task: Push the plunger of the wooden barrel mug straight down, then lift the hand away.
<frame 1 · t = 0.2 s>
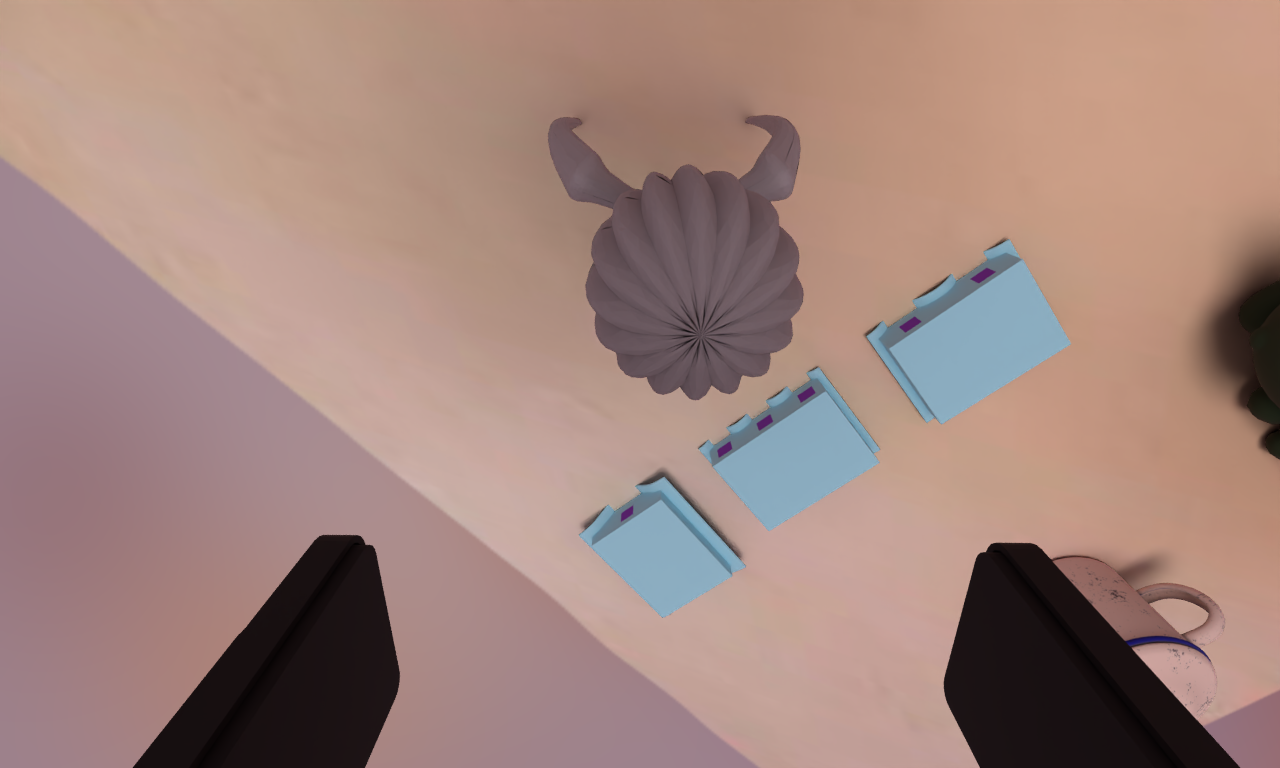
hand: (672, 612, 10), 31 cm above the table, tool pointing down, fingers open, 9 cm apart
teacup with lid: (1077, 588, 49), on the table
juicer: (663, 198, 38), on the table
light blue block row: (807, 439, 45), on the table
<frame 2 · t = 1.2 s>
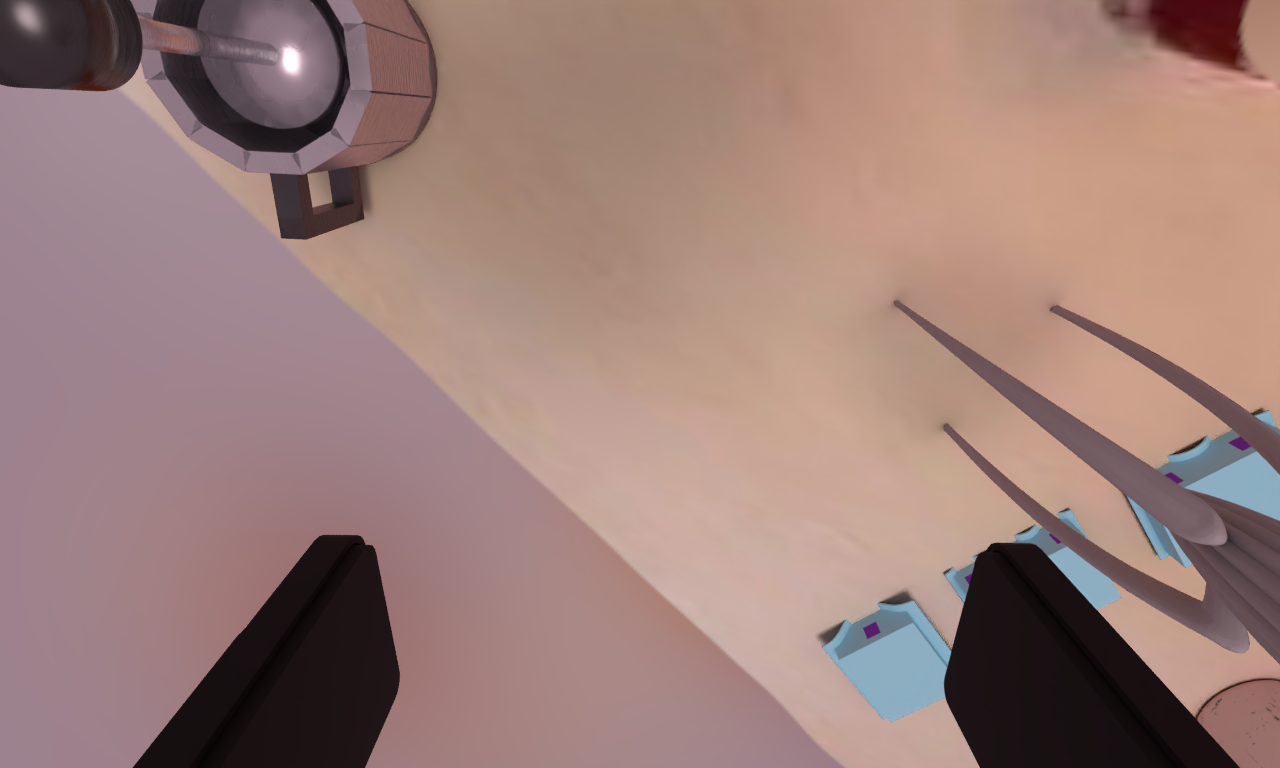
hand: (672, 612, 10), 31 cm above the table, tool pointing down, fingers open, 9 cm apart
plunger: (174, 39, 22), point 14 cm above the table, slide at 0.0 cm
teacup with lid: (1262, 705, 53), on the table
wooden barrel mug: (348, 67, 34), on the table
juicer: (959, 368, 41), on the table
light blue block row: (1040, 566, 48), on the table
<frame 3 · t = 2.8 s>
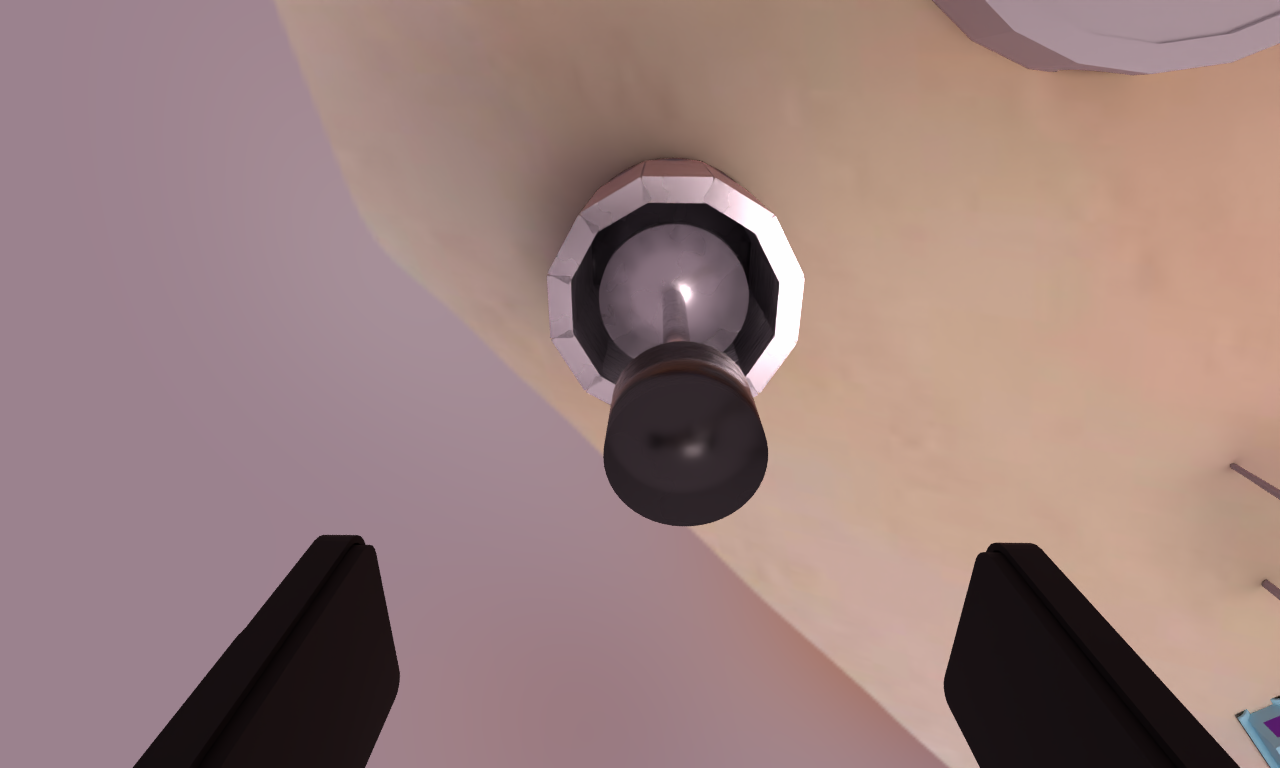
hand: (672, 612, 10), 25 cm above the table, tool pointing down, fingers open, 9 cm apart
plunger: (677, 352, 20), point 14 cm above the table, slide at 0.0 cm
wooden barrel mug: (670, 258, 32), on the table
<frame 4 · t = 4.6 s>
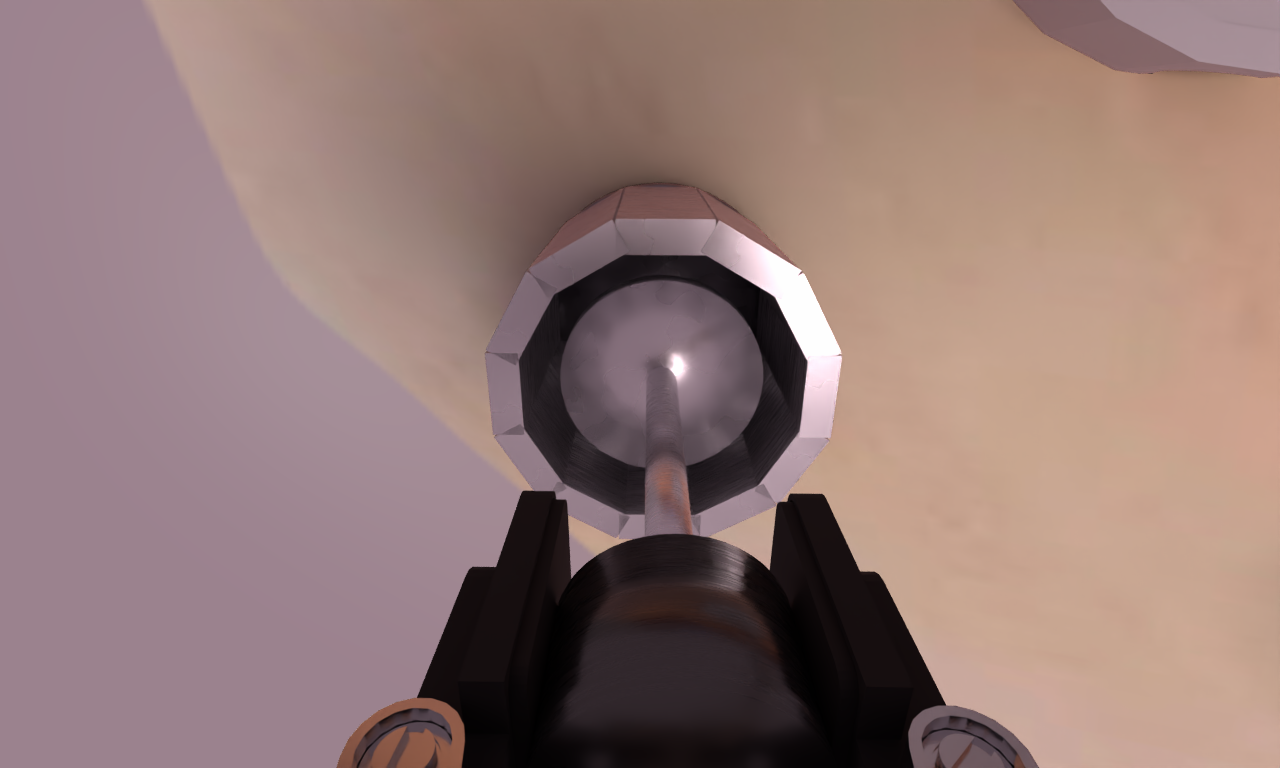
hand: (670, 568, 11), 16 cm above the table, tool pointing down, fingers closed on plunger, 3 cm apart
plunger: (666, 487, 13), point 14 cm above the table, slide at 0.0 cm, touching gripper
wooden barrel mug: (658, 306, 26), on the table
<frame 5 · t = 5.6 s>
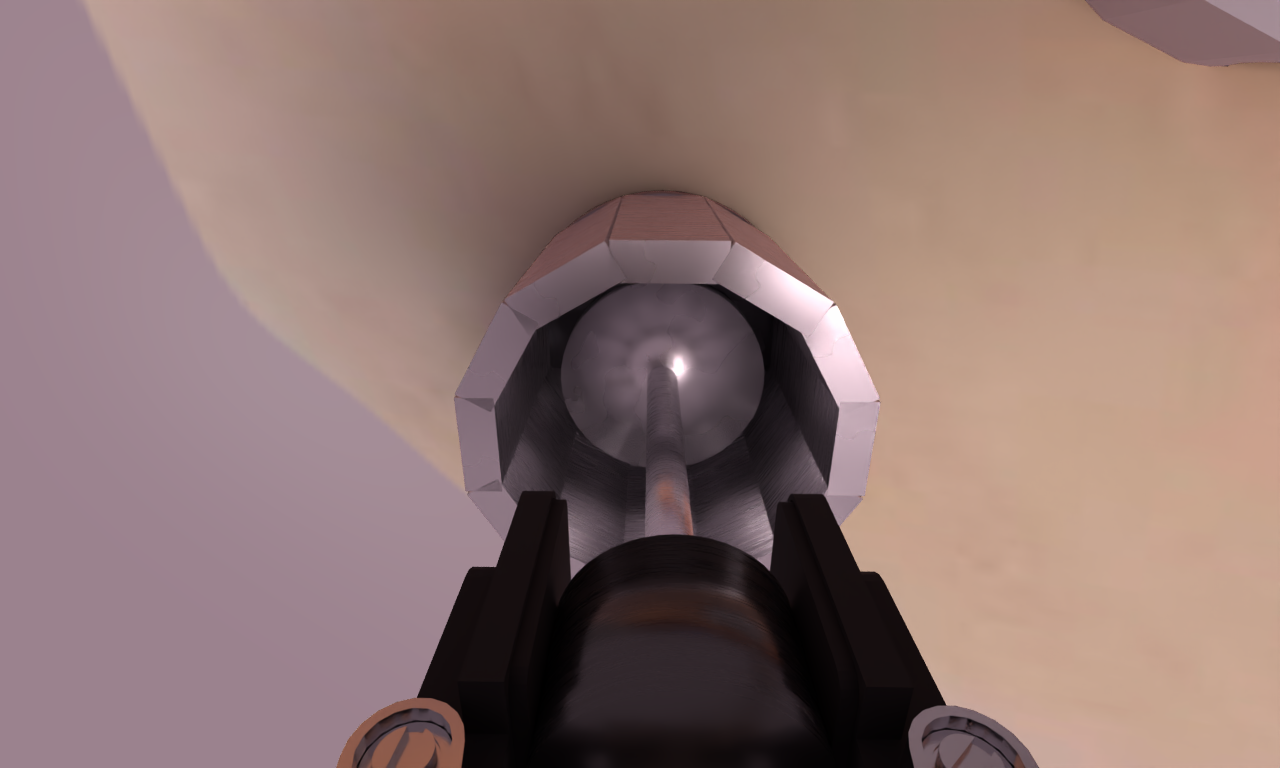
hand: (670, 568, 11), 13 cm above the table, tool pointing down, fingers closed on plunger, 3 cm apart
plunger: (667, 487, 13), point 11 cm above the table, slide at 3.0 cm, touching gripper
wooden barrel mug: (659, 329, 23), on the table
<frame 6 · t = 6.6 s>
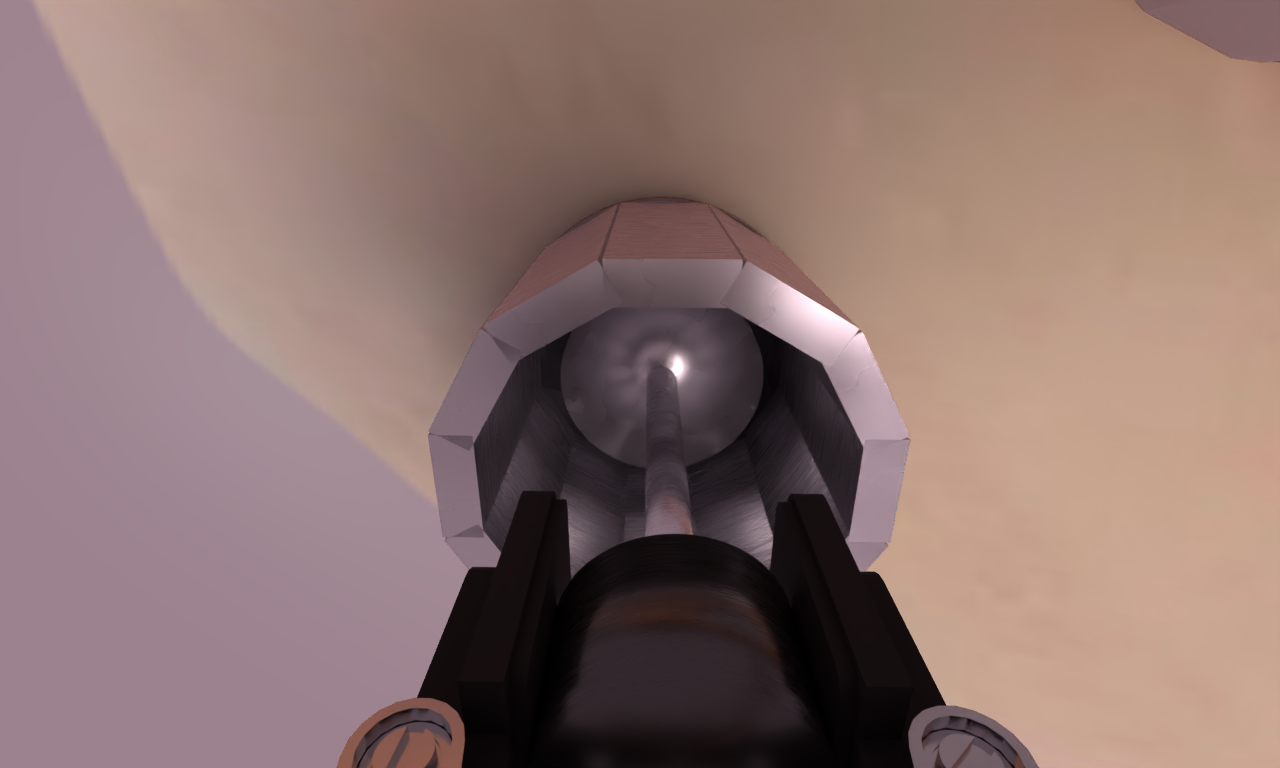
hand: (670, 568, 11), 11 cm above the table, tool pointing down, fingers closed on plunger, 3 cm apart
plunger: (666, 487, 13), point 9 cm above the table, slide at 4.8 cm, touching gripper
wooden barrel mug: (660, 345, 21), on the table
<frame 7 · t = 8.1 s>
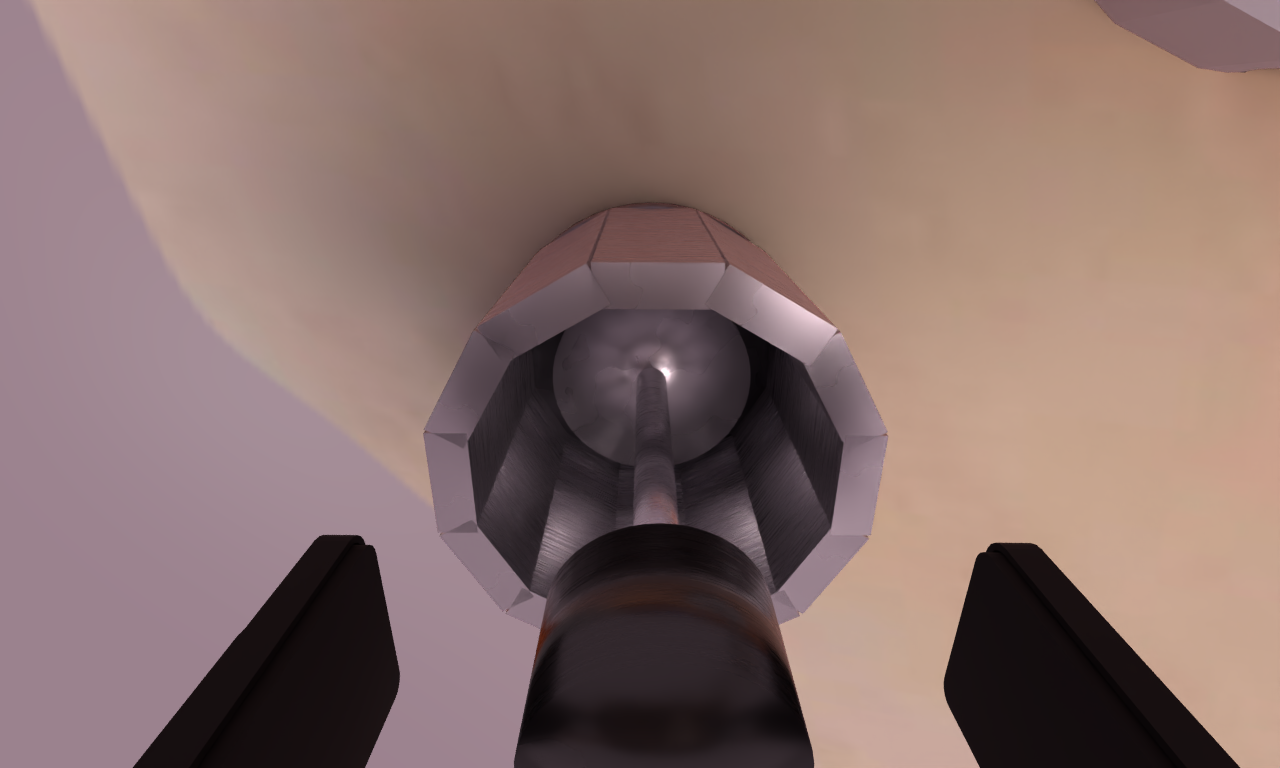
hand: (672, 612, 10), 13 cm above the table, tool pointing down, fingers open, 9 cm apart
plunger: (654, 483, 14), point 9 cm above the table, slide at 4.8 cm
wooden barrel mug: (650, 347, 22), on the table
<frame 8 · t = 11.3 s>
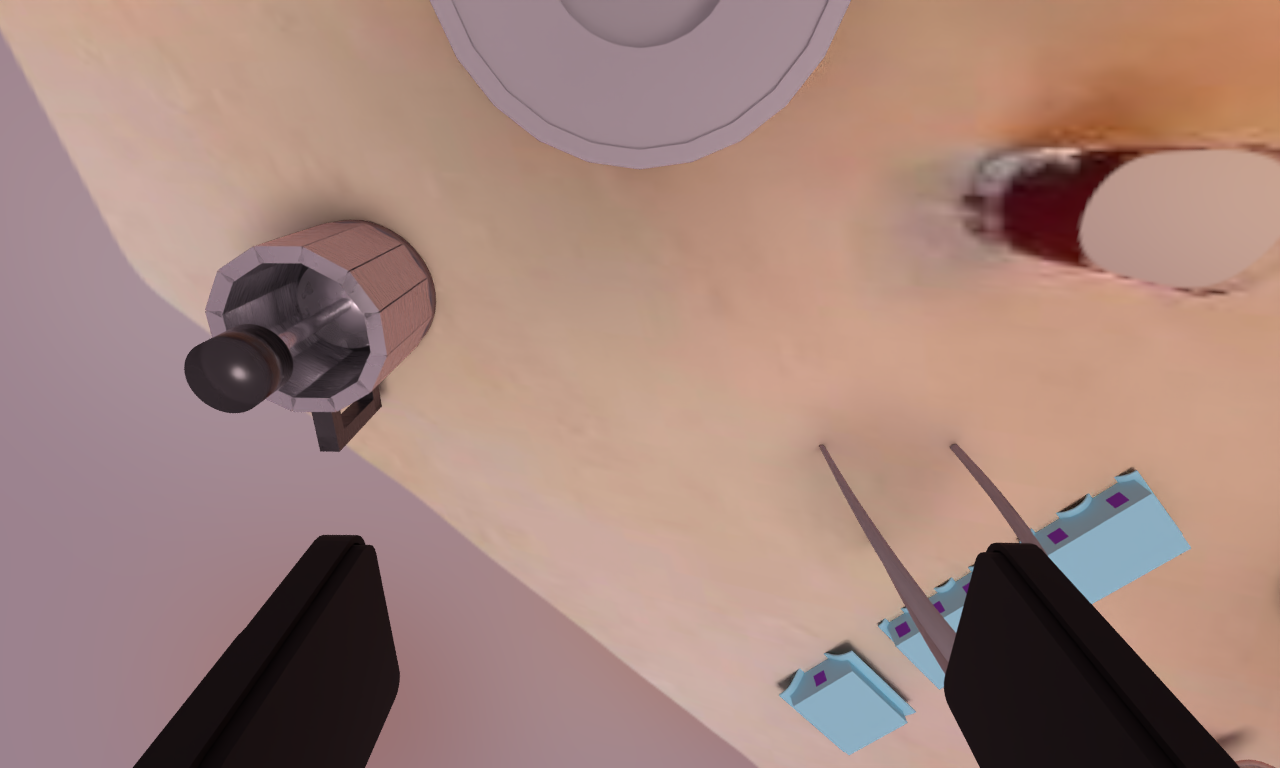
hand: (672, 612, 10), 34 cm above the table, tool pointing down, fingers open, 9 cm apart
plunger: (298, 333, 35), point 9 cm above the table, slide at 4.8 cm
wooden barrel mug: (364, 292, 43), on the table
juicer: (879, 493, 49), on the table
light blue block row: (964, 611, 54), on the table
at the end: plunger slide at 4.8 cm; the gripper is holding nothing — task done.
